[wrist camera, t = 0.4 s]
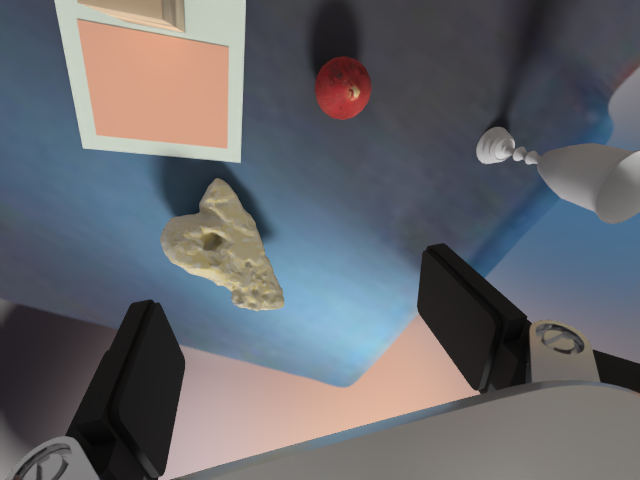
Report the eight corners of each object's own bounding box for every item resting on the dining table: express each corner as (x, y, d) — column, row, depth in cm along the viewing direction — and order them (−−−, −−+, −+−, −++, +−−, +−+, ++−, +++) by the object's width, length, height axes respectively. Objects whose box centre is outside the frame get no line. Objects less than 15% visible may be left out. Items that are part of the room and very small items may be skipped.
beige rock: (159, 181, 38) (139, 306, 35) (178, 163, 33) (156, 309, 30) (266, 210, 48) (257, 310, 45) (294, 199, 43) (287, 312, 39)
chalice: (461, 145, 42) (586, 190, 27) (502, 107, 41) (658, 130, 26) (484, 180, 46) (607, 237, 30) (523, 145, 44) (671, 186, 29)
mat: (24, -174, 23) (19, -179, 22) (249, -105, 27) (249, -108, 26) (85, 147, 33) (82, 148, 32) (240, 161, 37) (240, 162, 37)
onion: (298, 79, 34) (312, 82, 27) (341, 45, 34) (366, 39, 27) (326, 124, 37) (345, 137, 30) (366, 94, 37) (395, 100, 30)
